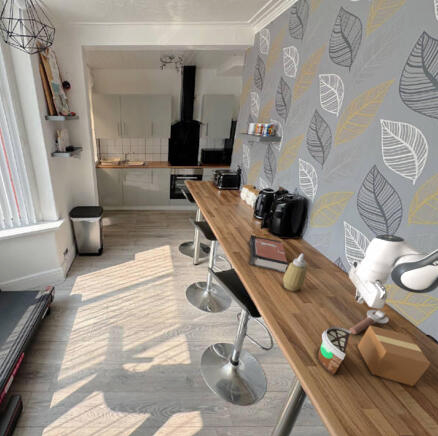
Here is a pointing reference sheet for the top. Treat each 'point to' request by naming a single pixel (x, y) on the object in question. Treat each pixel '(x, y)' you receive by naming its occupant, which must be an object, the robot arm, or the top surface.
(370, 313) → the pizza cutter
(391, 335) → the carton
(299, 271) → the squeeze bottle
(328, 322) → the top surface
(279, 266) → the book
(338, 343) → the food container
